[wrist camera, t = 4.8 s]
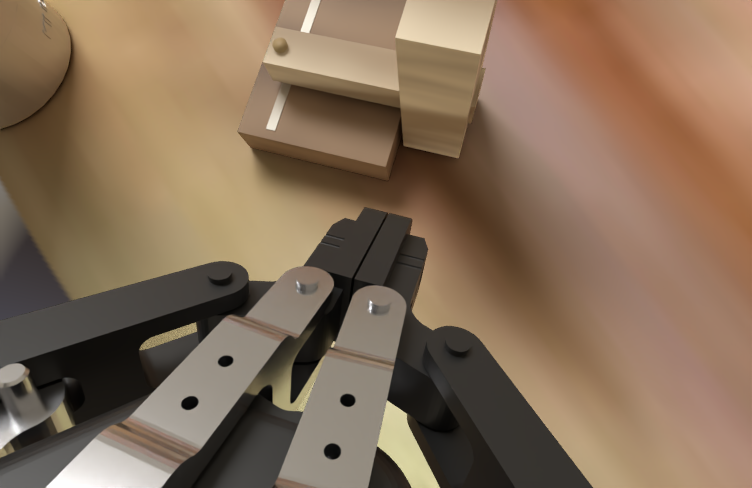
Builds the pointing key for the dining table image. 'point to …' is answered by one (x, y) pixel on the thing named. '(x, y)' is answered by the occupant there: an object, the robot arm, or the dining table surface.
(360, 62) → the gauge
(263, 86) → the board
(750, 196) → the dining table surface
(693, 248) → the dining table surface
